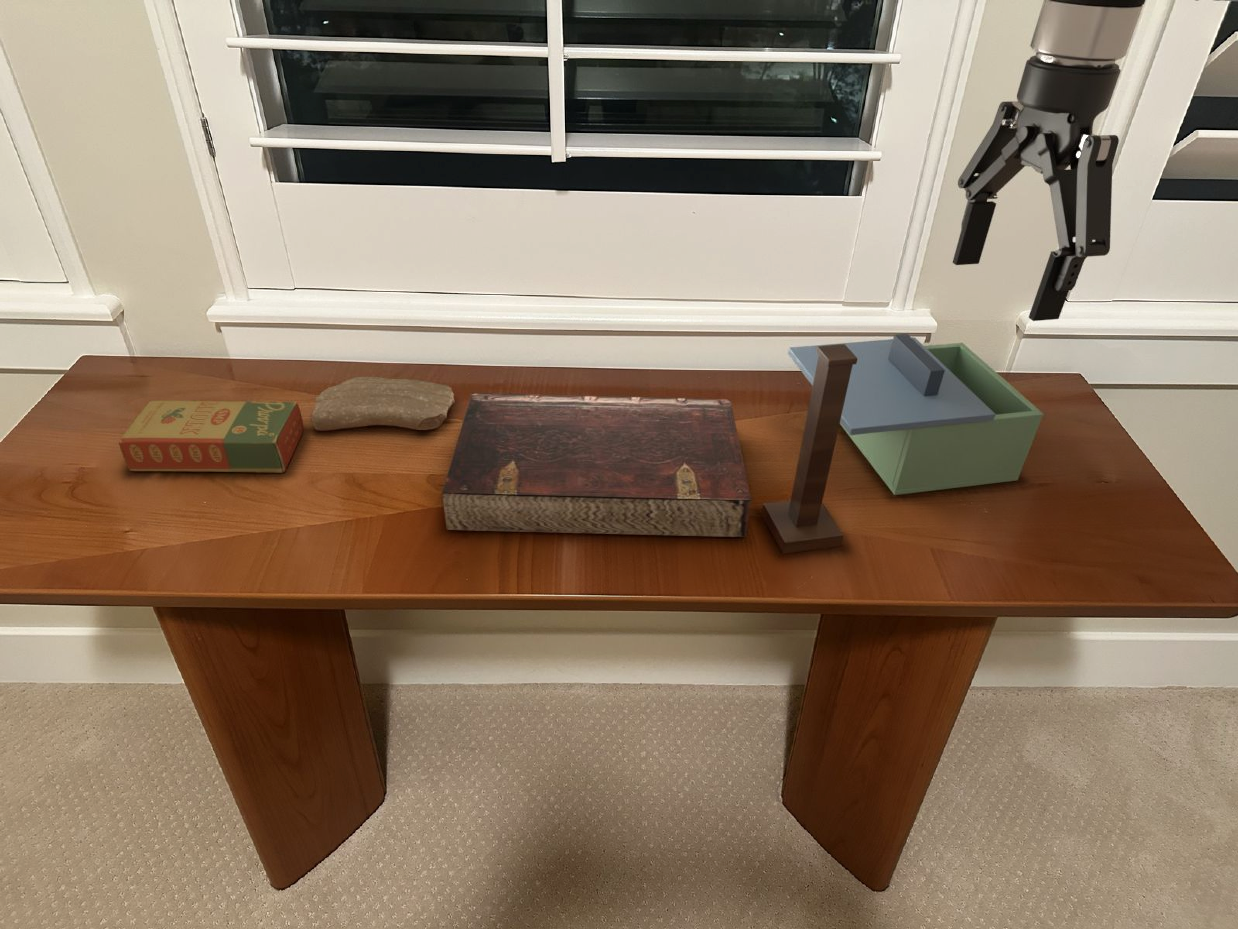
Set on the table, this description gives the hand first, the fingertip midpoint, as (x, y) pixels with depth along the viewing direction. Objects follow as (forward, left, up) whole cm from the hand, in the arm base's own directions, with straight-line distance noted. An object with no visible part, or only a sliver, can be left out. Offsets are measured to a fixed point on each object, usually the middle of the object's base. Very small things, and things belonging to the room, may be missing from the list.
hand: (1001, 289), depth 84 cm
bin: (+2, +3, -19) cm, 20 cm away
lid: (+4, +9, -11) cm, 15 cm away
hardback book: (+15, +38, -19) cm, 45 cm away
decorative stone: (+38, +53, -19) cm, 68 cm away
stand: (-2, +25, -19) cm, 32 cm away
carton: (+40, +71, -19) cm, 84 cm away
